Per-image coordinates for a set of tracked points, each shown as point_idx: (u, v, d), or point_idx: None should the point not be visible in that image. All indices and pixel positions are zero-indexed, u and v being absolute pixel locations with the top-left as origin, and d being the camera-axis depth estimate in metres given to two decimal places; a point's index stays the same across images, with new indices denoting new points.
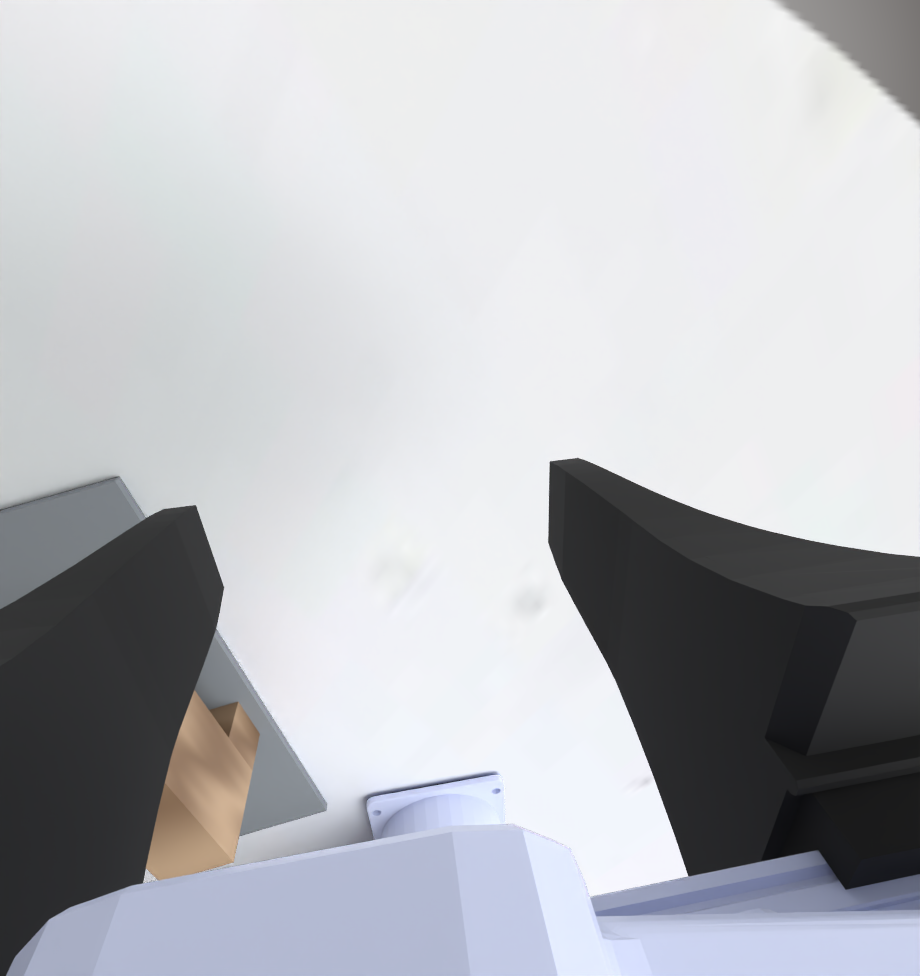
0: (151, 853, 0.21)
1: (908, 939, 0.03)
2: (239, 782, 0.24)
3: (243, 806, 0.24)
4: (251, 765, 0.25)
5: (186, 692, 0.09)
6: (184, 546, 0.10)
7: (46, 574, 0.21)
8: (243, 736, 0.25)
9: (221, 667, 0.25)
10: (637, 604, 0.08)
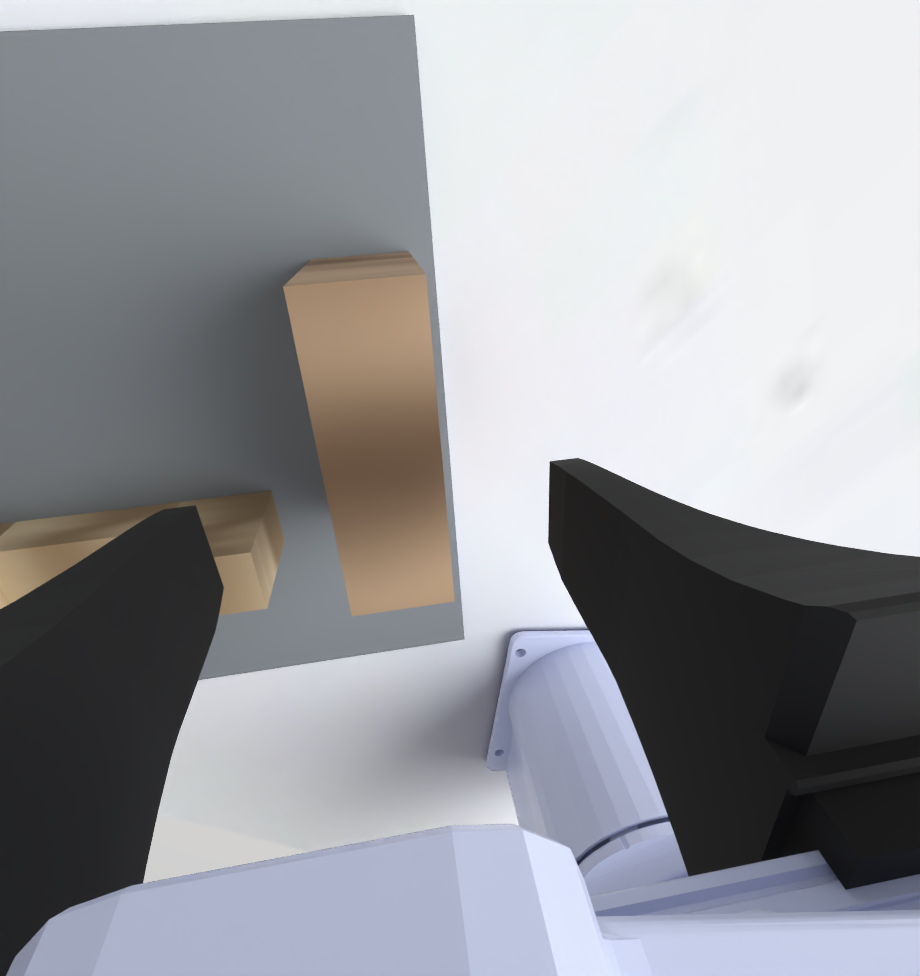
0: (363, 557, 0.15)
1: (908, 939, 0.03)
2: None
3: None
4: None
5: (186, 692, 0.09)
6: (184, 546, 0.10)
7: (267, 154, 0.15)
8: None
9: None
10: (637, 604, 0.08)
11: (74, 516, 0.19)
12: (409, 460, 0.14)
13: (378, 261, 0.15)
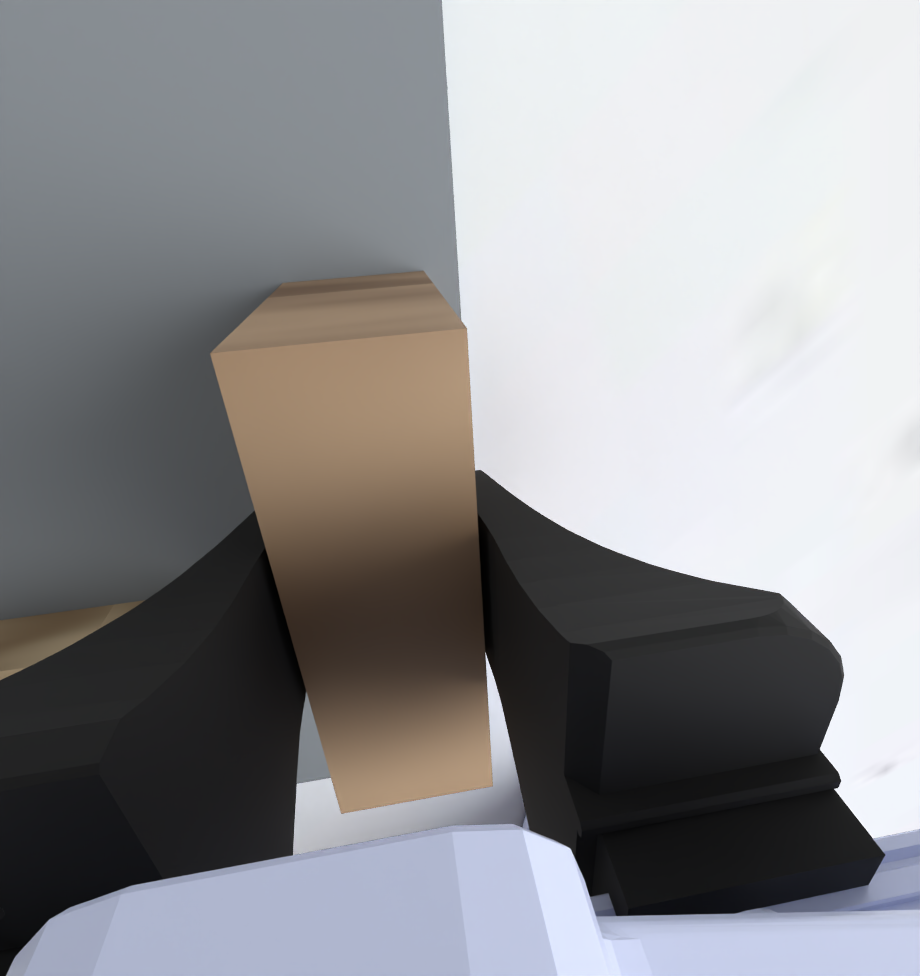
0: (358, 741, 0.10)
1: (908, 939, 0.03)
2: None
3: None
4: None
5: None
6: None
7: (213, 129, 0.10)
8: None
9: None
10: (503, 624, 0.08)
11: None
12: (430, 613, 0.09)
13: (381, 291, 0.10)
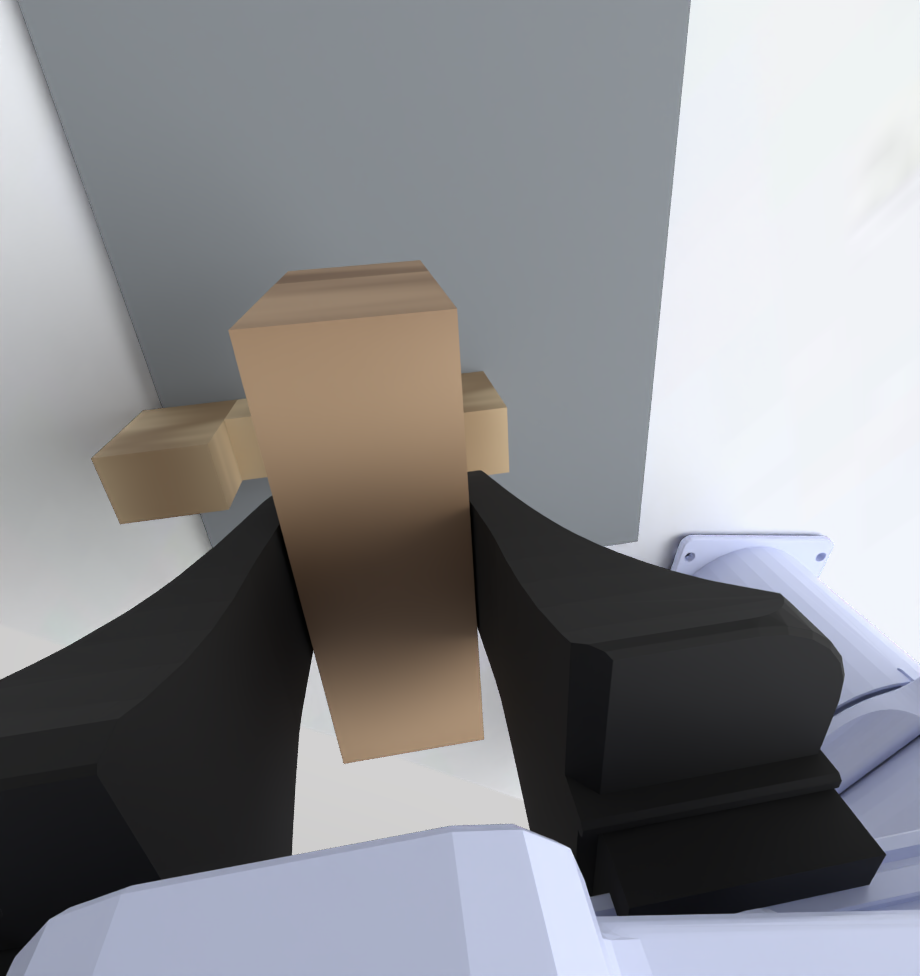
0: (359, 695, 0.10)
1: (908, 939, 0.03)
2: None
3: None
4: None
5: (305, 674, 0.10)
6: None
7: None
8: None
9: (651, 253, 0.19)
10: (503, 624, 0.08)
11: None
12: (425, 572, 0.09)
13: (380, 278, 0.10)
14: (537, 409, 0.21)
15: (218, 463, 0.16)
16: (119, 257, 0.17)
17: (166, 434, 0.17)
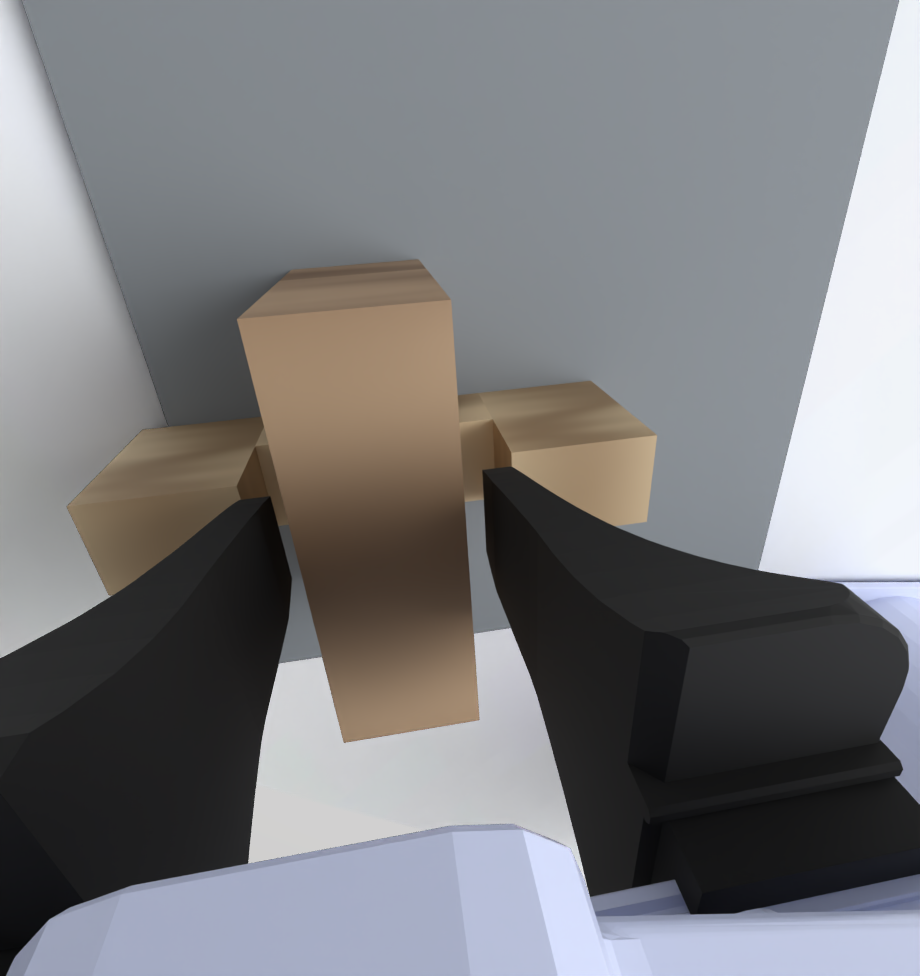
0: (359, 673, 0.11)
1: (908, 939, 0.03)
2: None
3: None
4: None
5: (270, 679, 0.09)
6: (264, 535, 0.10)
7: None
8: None
9: (825, 226, 0.14)
10: (545, 618, 0.08)
11: None
12: (422, 553, 0.10)
13: (379, 275, 0.11)
14: (653, 430, 0.16)
15: None
16: (110, 218, 0.12)
17: (176, 468, 0.12)
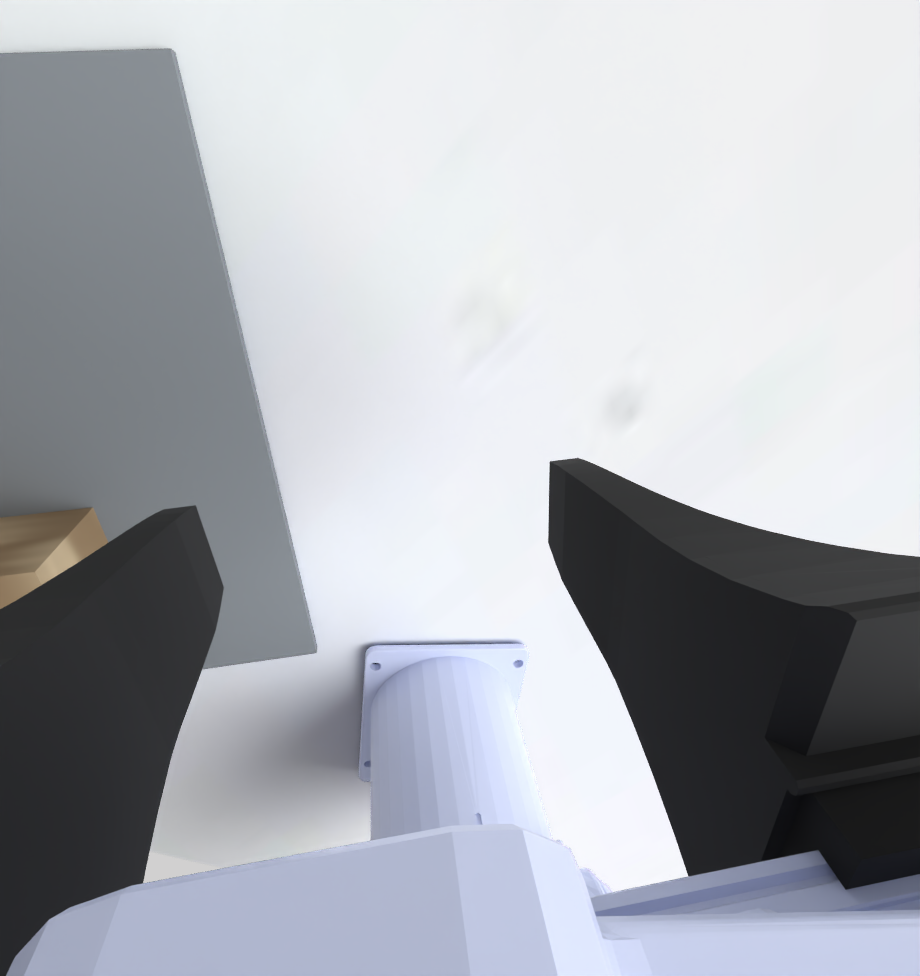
0: None
1: (908, 939, 0.03)
2: None
3: None
4: None
5: (186, 692, 0.09)
6: (184, 546, 0.10)
7: (39, 181, 0.15)
8: None
9: (240, 402, 0.19)
10: (637, 604, 0.08)
11: None
12: None
13: None
14: None
15: None
16: None
17: None
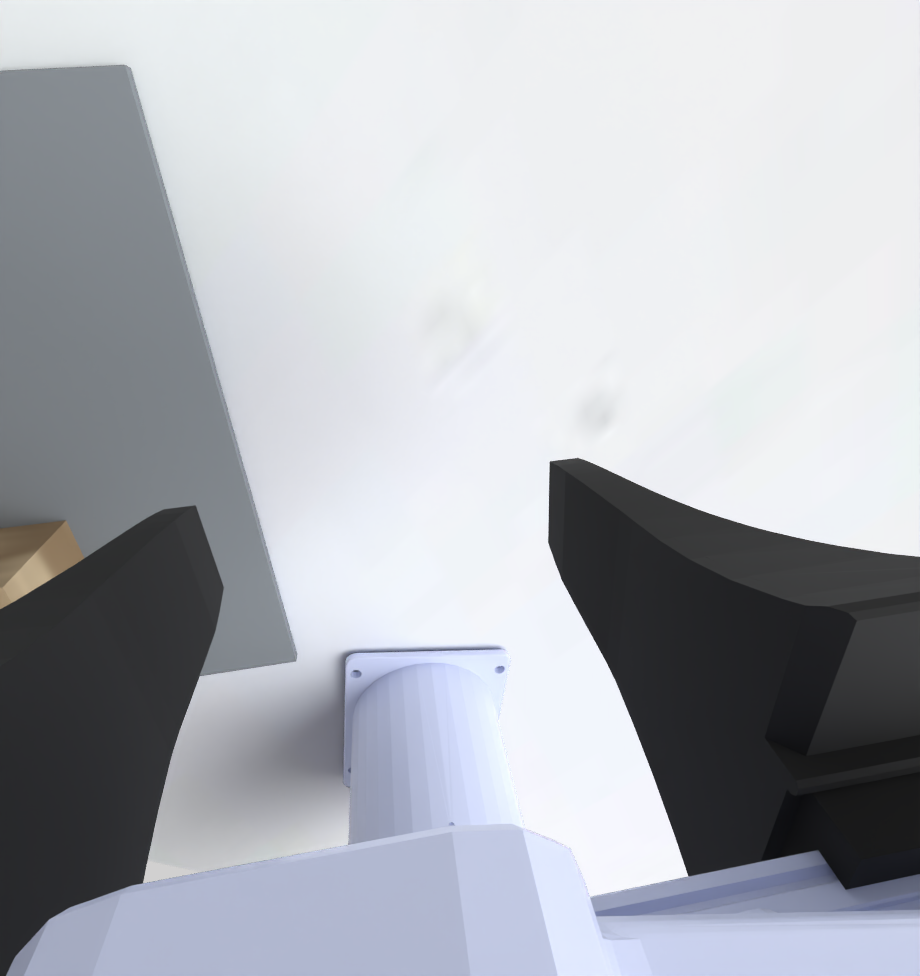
0: None
1: (908, 939, 0.03)
2: None
3: None
4: None
5: (186, 692, 0.09)
6: (184, 546, 0.10)
7: None
8: None
9: (209, 414, 0.19)
10: (637, 604, 0.08)
11: None
12: None
13: None
14: None
15: None
16: None
17: None
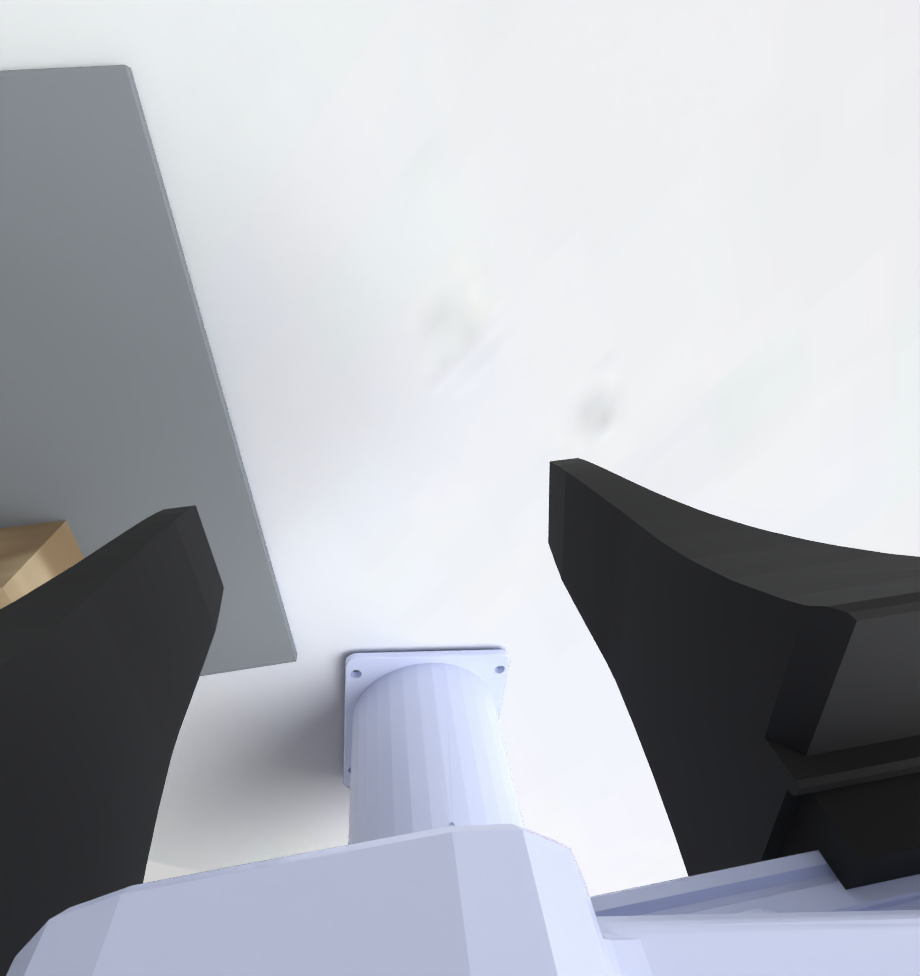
0: None
1: (908, 939, 0.03)
2: None
3: None
4: None
5: (186, 692, 0.09)
6: (184, 546, 0.10)
7: None
8: None
9: (209, 414, 0.19)
10: (637, 604, 0.08)
11: None
12: None
13: None
14: None
15: None
16: None
17: None
